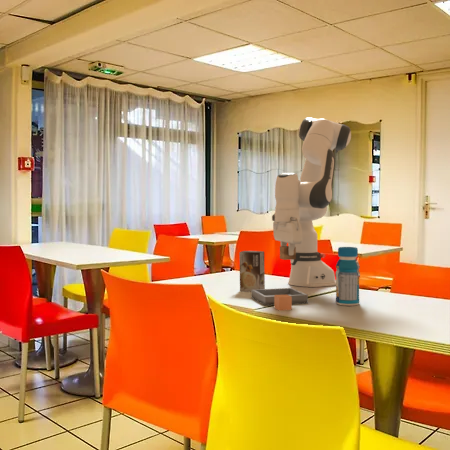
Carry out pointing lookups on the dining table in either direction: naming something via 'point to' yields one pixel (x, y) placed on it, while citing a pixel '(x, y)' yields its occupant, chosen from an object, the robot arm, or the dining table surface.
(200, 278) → the dining table surface
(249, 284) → the coffee box
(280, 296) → the terracotta block
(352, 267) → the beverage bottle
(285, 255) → the walnut block
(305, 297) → the tray
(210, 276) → the dining table surface
